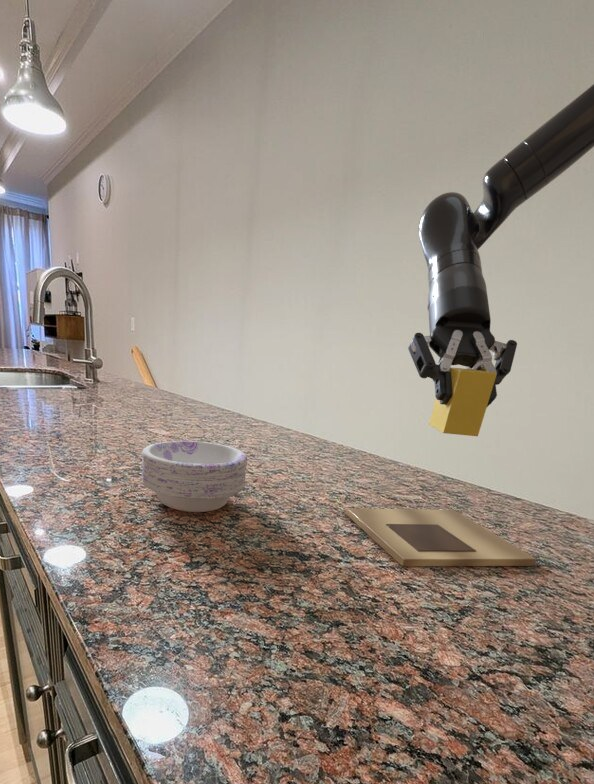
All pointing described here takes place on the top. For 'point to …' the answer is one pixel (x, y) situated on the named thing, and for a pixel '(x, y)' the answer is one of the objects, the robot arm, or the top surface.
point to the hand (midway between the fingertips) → (466, 402)
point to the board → (437, 538)
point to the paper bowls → (193, 474)
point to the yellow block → (464, 402)
